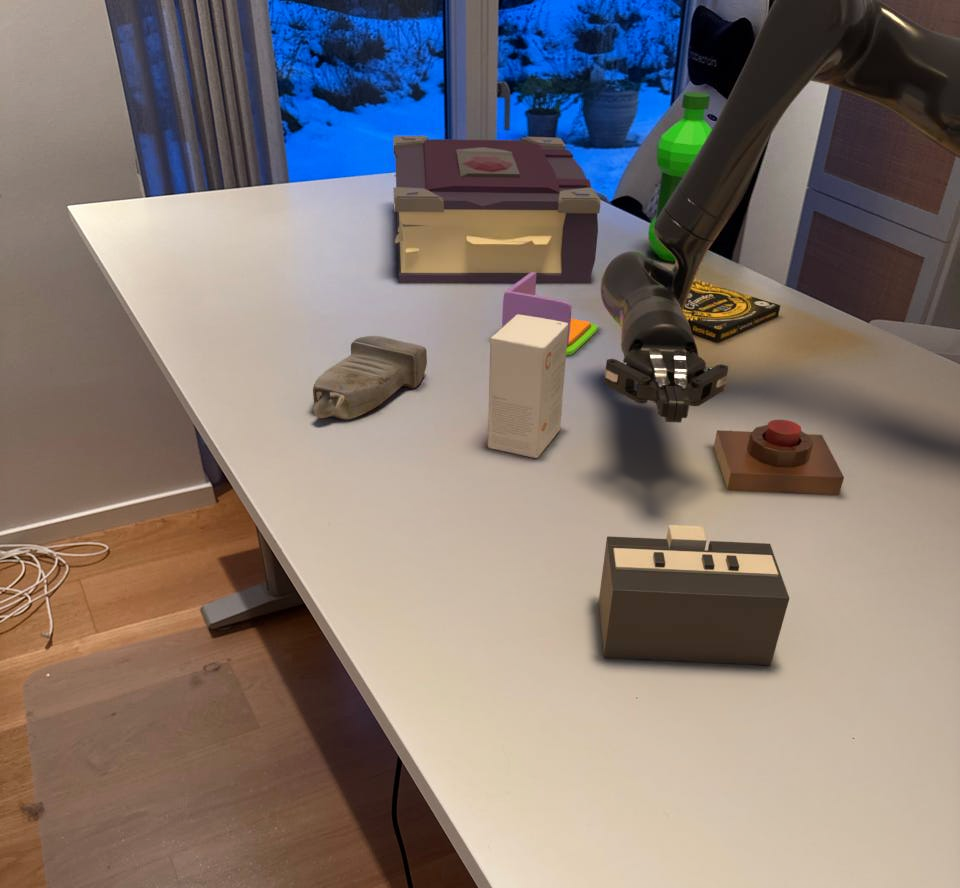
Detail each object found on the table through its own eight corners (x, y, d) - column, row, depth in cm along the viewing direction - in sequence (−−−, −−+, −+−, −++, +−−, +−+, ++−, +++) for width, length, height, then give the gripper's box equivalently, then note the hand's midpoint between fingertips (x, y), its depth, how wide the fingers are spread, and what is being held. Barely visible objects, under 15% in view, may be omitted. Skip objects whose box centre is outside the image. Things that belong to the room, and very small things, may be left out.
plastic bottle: (644, 264, 164) (666, 98, 148) (643, 246, 172) (663, 87, 156) (703, 268, 163) (731, 102, 147) (699, 249, 171) (725, 90, 155)
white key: (698, 549, 85) (703, 525, 83) (702, 563, 83) (706, 540, 81) (664, 547, 85) (668, 524, 83) (667, 562, 83) (671, 538, 82)
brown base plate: (817, 452, 110) (826, 420, 108) (838, 495, 103) (848, 462, 100) (713, 447, 111) (719, 415, 108) (727, 490, 103) (734, 457, 100)
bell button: (793, 434, 106) (797, 420, 105) (801, 449, 103) (804, 434, 102) (761, 433, 106) (764, 418, 105) (767, 448, 103) (771, 433, 102)
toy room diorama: (491, 341, 135) (492, 292, 130) (524, 314, 143) (527, 267, 139) (570, 357, 131) (574, 307, 126) (600, 329, 139) (605, 281, 135)
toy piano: (753, 608, 86) (772, 535, 81) (770, 665, 80) (792, 590, 75) (598, 601, 86) (607, 528, 82) (603, 657, 80) (614, 582, 75)
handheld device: (284, 418, 114) (280, 381, 111) (372, 361, 128) (370, 327, 125) (352, 436, 111) (350, 398, 108) (435, 376, 125) (435, 341, 122)
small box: (511, 420, 115) (516, 312, 107) (561, 430, 113) (570, 321, 105) (485, 448, 109) (488, 336, 101) (537, 460, 107) (545, 347, 99)
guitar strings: (719, 330, 135) (630, 300, 144) (717, 342, 136) (629, 312, 145) (780, 305, 144) (693, 278, 153) (777, 316, 145) (691, 289, 154)
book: (562, 209, 189) (568, 130, 181) (602, 285, 154) (611, 192, 146) (394, 208, 187) (391, 128, 178) (395, 285, 152) (393, 190, 143)
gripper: (600, 305, 102) (610, 372, 88) (724, 311, 101) (753, 379, 88) (592, 373, 106) (601, 445, 93) (711, 378, 106) (737, 452, 93)
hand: (675, 413), depth 90 cm, fingers closed
